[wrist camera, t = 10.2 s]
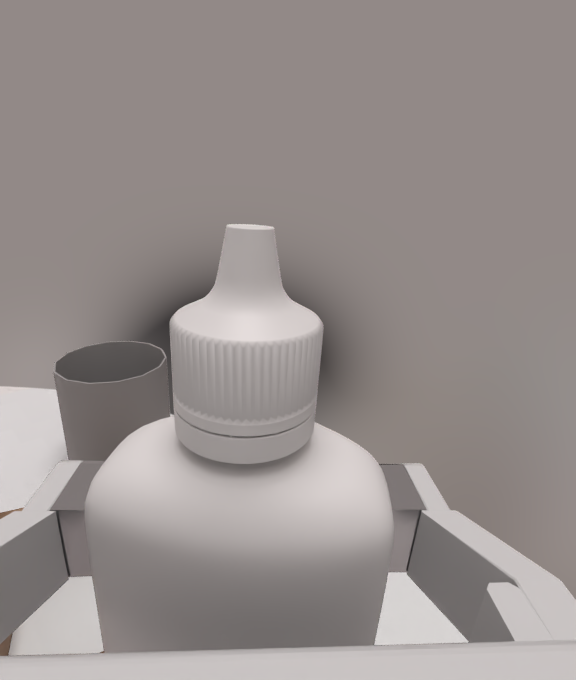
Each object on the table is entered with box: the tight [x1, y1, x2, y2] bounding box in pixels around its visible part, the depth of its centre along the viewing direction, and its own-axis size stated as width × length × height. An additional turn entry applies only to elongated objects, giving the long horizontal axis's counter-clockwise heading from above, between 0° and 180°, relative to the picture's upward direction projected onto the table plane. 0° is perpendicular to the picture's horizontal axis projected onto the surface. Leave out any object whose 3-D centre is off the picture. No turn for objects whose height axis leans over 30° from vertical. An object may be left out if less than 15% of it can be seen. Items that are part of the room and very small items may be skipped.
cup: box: [53, 341, 170, 461], centre depth 34 cm, size 8×8×10 cm
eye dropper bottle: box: [85, 224, 394, 653], centre depth 8 cm, size 4×6×12 cm
